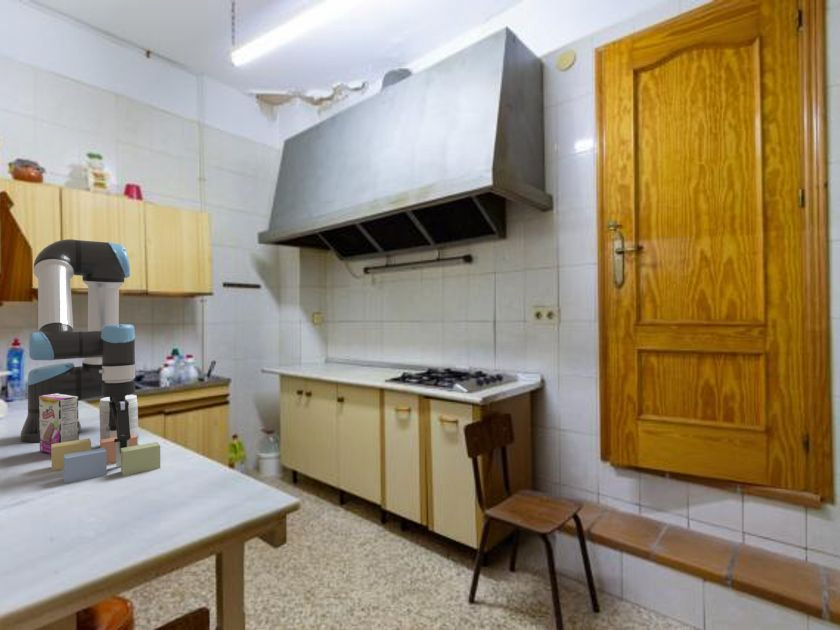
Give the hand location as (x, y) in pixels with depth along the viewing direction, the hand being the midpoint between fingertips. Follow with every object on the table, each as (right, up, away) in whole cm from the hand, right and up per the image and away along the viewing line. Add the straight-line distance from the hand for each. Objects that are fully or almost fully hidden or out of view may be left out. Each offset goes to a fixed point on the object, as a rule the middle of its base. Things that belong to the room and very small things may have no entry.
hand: (119, 459), depth 119 cm
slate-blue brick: (0, 0, -12) cm, 12 cm away
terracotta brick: (0, 0, 0) cm, 0 cm away
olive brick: (+11, 0, -8) cm, 13 cm away
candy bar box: (-22, 0, +7) cm, 23 cm away
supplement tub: (-9, 0, +13) cm, 16 cm away
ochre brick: (-10, 0, -4) cm, 11 cm away
